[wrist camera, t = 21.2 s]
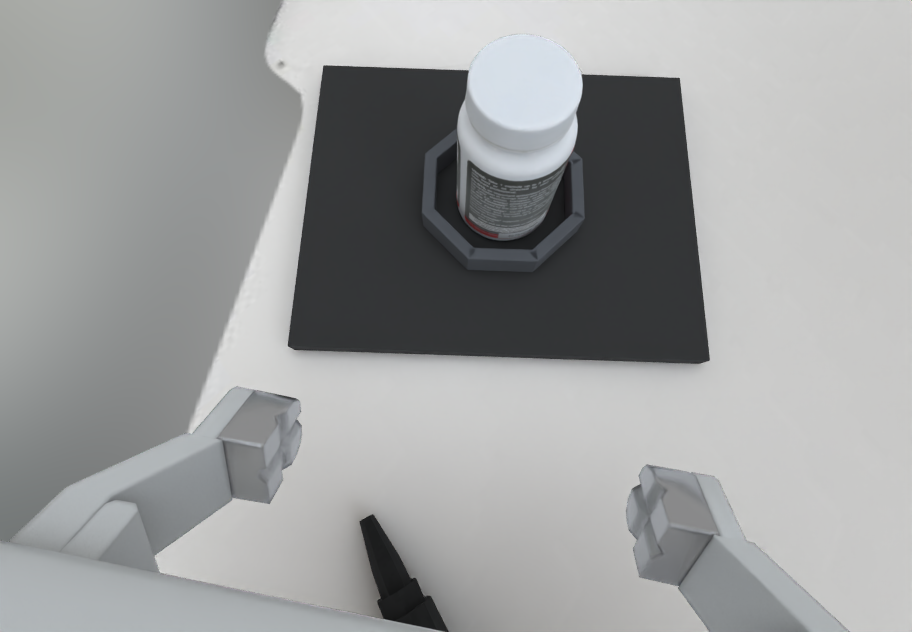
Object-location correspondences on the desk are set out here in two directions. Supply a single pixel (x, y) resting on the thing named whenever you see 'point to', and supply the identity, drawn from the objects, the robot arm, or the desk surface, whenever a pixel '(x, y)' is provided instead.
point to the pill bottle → (515, 134)
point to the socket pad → (491, 261)
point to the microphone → (397, 582)
